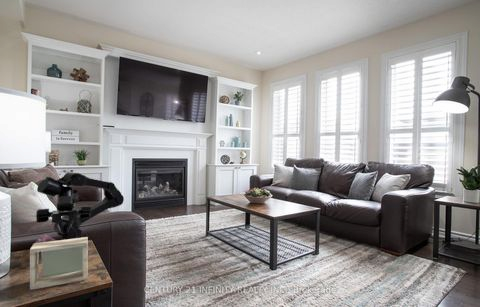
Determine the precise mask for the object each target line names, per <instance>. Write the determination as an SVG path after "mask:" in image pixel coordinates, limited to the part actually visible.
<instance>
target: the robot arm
mask: <svg viewBox="0 0 480 307" xmlns="http://www.w3.org/2000/svg"><path fill="white" fill-rule="evenodd" d="M72 186H73V187H72ZM75 187H89V188H90V187H91V188H97V189H102V190H103V195H104V198H103V199H102V200H101V201H99V202H98V203H95V204H94V205H92V206H90V205H84V206H82V205H81V206H80V209H74V208H75V204H78V203H79V194H77V193H79V190H77V189H76V188H75ZM36 190H37V193H40V194H42V195H45V196H48V197H52V198H53V197H55V196H57V200H56V202H57V203H56V210H52V211H50V208H40V209H39V208H38V209H37V210H36V213H35V215H36V216H35V218H36V223H47V222H48V221H49V220H50V218H51V223H53V224H54V225H53V230H54V232H56V234H57V235H58V237H59V236H61V240H67V239H75V238H79V237H80V236H81V235H82V232H83V230H81V229H80V227H81V225H82V224H83V223H85V222H87V221H89V220H91V219H92V218H94V217H96V216H98V215H100V214H101V213H103V212H105V211H107V210H108V209H114V208H117V207H120V206H122V205H123V204H124V200H125V198H124V196H123V195H122V192H121V191H120V190H119V189H118V188H117V187H116V185H115V184H114V182H112V181H104V180H100V179H94V178H90V177H87V176H86V175H84V174H82V173H79V172H71V171H70V172H67V173H65V174H63V176H62V177H60V178H58V179H54V178H53V177H51V176H45V179H43V180H42V181H41V182H40V183H38V185H37V188H36Z"/></svg>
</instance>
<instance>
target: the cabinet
mask: <svg viewBox="0 0 480 307" xmlns="http://www.w3.org/2000/svg"><path fill="white" fill-rule="evenodd" d="M88 239H89V238H88V236H86V237H85V236H84V237H83V236H82V237H77V238H75V239H67V240H62V239H61V240H56V241H50V242H42V243H36V242H35V243H33V244H32V246H31V247H30V249H29V291H31V290H36V289H43V288H48V287H53V286H57V285H64V284H70V283H75V282H80V281H86V280H87V279H88V273H89V270H88V269H89V268H88V265H89V264H88V263H89V262H88V258H89V257H88V256H89V253H88V250H89V246H88V245H89V240H88ZM80 246H83V271H77V272H71V273H65V274H59V275H53V276H48V277H42V276H41V277H39V253H42V252H43V251H50V250H57V249H65V248H72V247H80Z"/></svg>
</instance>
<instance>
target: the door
mask: <svg viewBox="0 0 480 307" xmlns="http://www.w3.org/2000/svg"><path fill="white" fill-rule="evenodd" d="M40 253H41V255H40V256H41V272H40V273H41V278H42V277H48V276H53V275H59V274H65V273H71V272H77V271H83V246H80V247H72V248H65V249H57V250H50V251H43V252H40Z"/></svg>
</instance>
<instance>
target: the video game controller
mask: <svg viewBox="0 0 480 307" xmlns="http://www.w3.org/2000/svg"><path fill="white" fill-rule="evenodd" d="M50 241H57V240H56V239H55V238H52V237H51V236H50V235H48V234H42V235H40V236H38V237H37V239H36V241H35V243H42V242H50Z"/></svg>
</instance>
